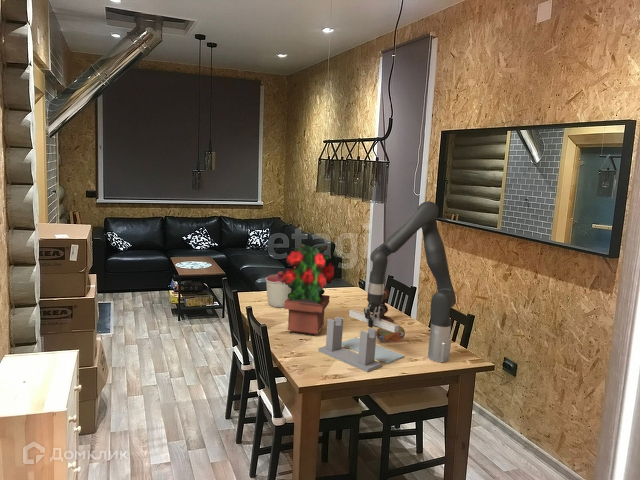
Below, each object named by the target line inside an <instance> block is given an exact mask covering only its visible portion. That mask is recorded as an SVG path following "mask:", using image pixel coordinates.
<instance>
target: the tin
mask: <svg viewBox="0 0 640 480" xmlns="http://www.w3.org/2000/svg"><path fill="white" fill-rule="evenodd" d="M376 330H377V335H376V339H377V340H378V341H379V342H380V343H382V344H384V343H385V344H387V343H389V344H390V343H399V342H401V341H403V339H404V338H405V337H406V330H405V329H404V327H403V326H400V325H399V329H398V332H395V333H394V332H391V331H388V330H386V329H383V328H380V327H378V329H376Z"/></svg>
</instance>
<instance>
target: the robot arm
mask: <svg viewBox="0 0 640 480" xmlns="http://www.w3.org/2000/svg"><path fill="white" fill-rule="evenodd" d="M438 214H439V207H438V205H437V204H436V203H435V202H433V201H429V200H428V201H424V202H422V203H420V204H419V206H418V207H417V210H416V212H415V213H414V214H413V215H412V217H410V219H409V220H407V222H406V223H404V225H402V226H401V227H399V228H398V229H397V230H396V231H394V233H393V234H391V235H390V236H389V238H387V239H386V241H384V242H383V243H381V244H380V245H379V246H377V247H376V248H375V249H374V250H373V251H372V252H371V254H370V261H371V263H372V266H371V267H372V268H371V271H370V274H369V280H368V281H369V284H368V287H367V296H366V297H367V302H368V304H367V307H364V308H363V313H364V314H365V318H366V319H368V323H367V327H368V328H372V329H373V326H374V327H376V326H375V325H373V318H374V317H377V318H379V317H381V316H382V313H383V310H384V307H385V305H386V304H385V305H383V304H381V303H382V302H383V295H384V288H385V278H386V277H385V274H386V271H387V267H388V257H390V256H391V254H395V253H396V252H398V250H400V249H401V248H402V247H403V246H404V245H405V244H406V243H407V242H408V241H409V240H410V238H412V237H413V236H414V234H416V233H417V232H418V231H420V229H421V232H422V238H423V239H422V240H423V247H424V254H425V259H426V263H427V264H426V265H427V266H428V268H429V271H430V272H431V274H432V275H433V277H434V280H435V282H436V288H437V289H436V290H437V291H436V292H435V293H433V295H432V296H431V301H430V312H429V316H430V329H429V337H428V338H429V340H428V351H427V359H429V360H430V361H432V360H433V361H432V362H435V361H438V362H437V363H441V362H443V363H446V362H448V361H449V360H450V355H451V346H452V341H451V340H450V338H451V330H452V319H451V318H450V312H451V311H450V310H451V309H452V308H453V307H454V306H455V305H456V302H457V300H456V299H457V297H456V293H455V290H454V287H453V282H452V279H451V276H450V275H451V274H450V271H449V264H448V259H447V254H446V253H447V252H446V248H445V245H444V242H443V239H442V236H441V235H440V232H439V231H440V230H439V229H438V227H439V226H438V221H437V217H438ZM380 311H381V312H380ZM447 360H448V361H447ZM445 361H446V362H445Z"/></svg>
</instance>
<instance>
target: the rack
mask: <svg viewBox="0 0 640 480" xmlns="http://www.w3.org/2000/svg"><path fill="white" fill-rule="evenodd" d="M326 326H327V327H326V339H325V346H322V347H319V348H318V352H319V353H322V354H324V355H326V356H328V357H331V358H333V359H335V360H339V361H340V362H342V363H344V364H347V365H349V366H353V367H354V368H357V369H359V370H361V371H363V372H366V373H370V372H372V371H374V370H378V369H379V368H381V367H382V366H383V365H382V364H383V362H382V363H381V361H380V362H379V361H378V360H376V359H375V347H376V345H377V336H376V335H377V330H378V329H374V328H373V327H372V328H370V327H368V328H367V331H365V330H363V329H362V330H360V332H359V339H360V344H359V352H356V351H354V350H351V349H349V348H346V347H344V346H342V342H343V330H344V329H343V328H344V318H343V317H339V316H338V315H337V316H335V318H334V319H332V318H327V323H326Z"/></svg>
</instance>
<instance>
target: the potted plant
mask: <svg viewBox="0 0 640 480" xmlns="http://www.w3.org/2000/svg"><path fill="white" fill-rule="evenodd" d="M299 244H300V247H290V249H292V250H291V251H290V252H289V254H287V255H286V257H285V261H286V264H288V265H289V268H287V269H286V270H284V269H283V270H282V272H283V283H284V282H285V284H286V285H288V287H289V288H291V293H289V294H288V299H287V300H286V301H285V305H284V307H283V308H284V310H288V319H287V320H288V322H287V331H292V334H298V335H306V336H313V337H315V335H316V334H317V335H318V334H319V333H320V330H321V329H322V327H323V326H324V323H325V309H326V308H327V306H329V304H330V297H331V296H330V295H325V290H326V289H327V284H328V285H330V284H331V283H332V281H333V280H334V277H335V265H334V264H333V262H332V261H329V260H330V255H328V254H326V255H325V253H324V251H327V250H328V245H321V246H318V245H317V246H309V245H307V244H303V243H299ZM328 261H329V262H328ZM327 262H328V263H327ZM290 267H291V268H290ZM283 283H282V285H283ZM324 288H325V290H324Z"/></svg>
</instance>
